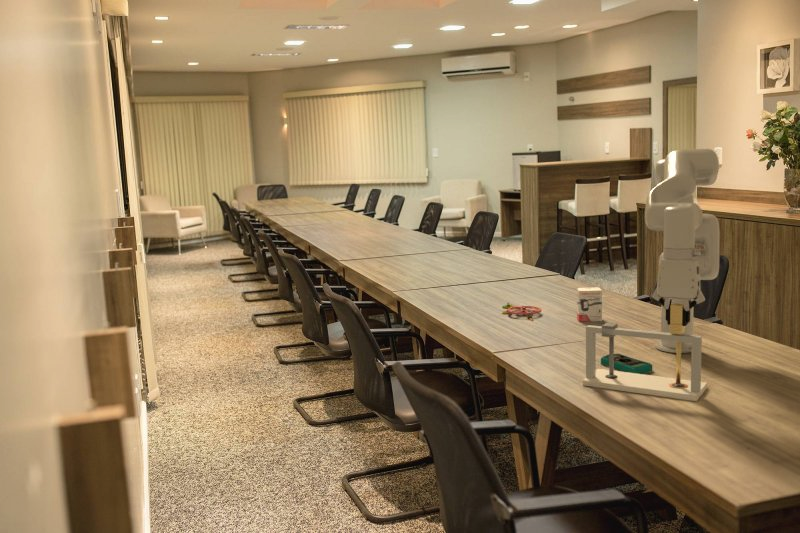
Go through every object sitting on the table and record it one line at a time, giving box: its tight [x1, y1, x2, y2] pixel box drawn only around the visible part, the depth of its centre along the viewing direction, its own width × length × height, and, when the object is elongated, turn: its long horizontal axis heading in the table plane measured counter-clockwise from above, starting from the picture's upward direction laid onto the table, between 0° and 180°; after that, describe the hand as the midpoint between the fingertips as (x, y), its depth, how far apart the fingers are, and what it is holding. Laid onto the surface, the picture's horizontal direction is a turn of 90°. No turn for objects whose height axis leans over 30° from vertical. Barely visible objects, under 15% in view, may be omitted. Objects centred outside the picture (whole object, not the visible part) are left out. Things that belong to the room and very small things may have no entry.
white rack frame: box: [582, 321, 708, 402], centre depth 213 cm, size 12×30×17 cm, turn 57°
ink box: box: [576, 286, 603, 323], centre depth 291 cm, size 8×5×12 cm, turn 86°
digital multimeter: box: [600, 353, 653, 375], centre depth 232 cm, size 7×15×3 cm, turn 27°
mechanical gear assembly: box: [501, 301, 542, 322], centre depth 309 cm, size 30×4×15 cm
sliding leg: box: [670, 303, 686, 384], centre depth 206 cm, size 4×3×22 cm
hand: (677, 323), depth 205 cm, fingers closed on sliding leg, 3 cm apart
